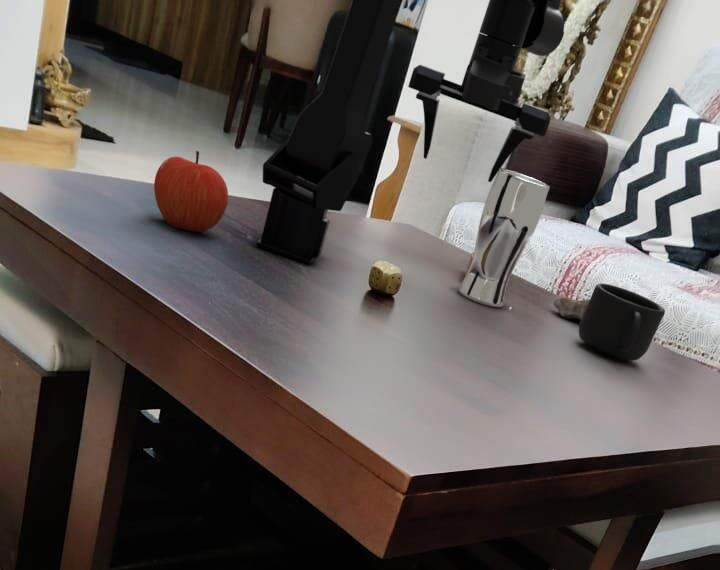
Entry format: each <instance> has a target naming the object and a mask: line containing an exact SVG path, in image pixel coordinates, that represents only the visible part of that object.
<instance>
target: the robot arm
mask: <svg viewBox="0 0 720 570" xmlns="http://www.w3.org/2000/svg"><path fill="white" fill-rule="evenodd" d="M403 1H404V0H352V1H351V4H350V6H349V10H348V13H347V16H346V19H345V21H344V25H343V28H342V31H341V34H340V37H339V40H338V43H337V46H336V49H335V52H334V55H333V58H332V61H331V64H330V66H329V70H328V73H327V76H326V79H325V82H324V85H323V87H322V90H321V92H320V94H319V95H318V96H316V98H314V100H312V101H311V103H310V104H308V105H307V106H306V107H305V108H304V109H303V110H302V111H301V112H300V113H299V115H298V117H297V119H296V121H295V124H294V126H293V128H292V130H291V132H290V135H289V137H288V138H287V139H286V140H285V141H284V142H283V143H282V144H281V145H280V146H279V147H278V148H277V149H276V150H274V153H272V154H271V156H269V157H268V159H266V160H265V161H264V163H263V165H262V183H263V184H266V185H269V186H271V187H273V189H272V193H271V197H270V201H269V205H268V210H267V214H266V217H265V221H264V224H263V225H264V226H263V229H262V234H261V238H259V239H258V240H257V242H256V246H258V247H260V248H263V249H265V250H269V251H271V252H273V253H276V254H279V255H283V256H286V257H288V258H290V259H294V260H296V261H300V262H302V263H305V264H309V265H310V264H312V263H313V262H314V260H316V259H318V258H319V257H320V256H321V254H322V252H323V248H324V244H325V240H326V237H327V234H328V230H329V226H330V223H331V221H330V218H328V217H327V214H328V212H329V211H334V212H335V211H336V212H341V211H342V209H343V207H344V205H345V203H346V202H347V199H348V197H349V196H350V193H352V191H353V188H354V186H355V184H356V182H357V181H358V178H359V175H360V174H363V173H364V172H363V171H364V167H365V162H366V158H367V155H368V154H369V151H370V150H371V147H372V145H373V135H372V133H370V132H367V131H366V124H365V118H364V117H365V116H364V113H365V109H366V106H367V102H368V99H369V97H370V94H371V91H372V88H373V86H374V83H375V80H376V77H377V74H378V71H379V69H380V66H381V62H382V60H383V58H384V54H385V53H386V49H387V46H388V43H389V40H390V38H391V34H392V32H393V29H394V26H395V23H396V21H397V18H398V15H399V12H400V9H401V7H402V4H403ZM561 3H562V0H489V1H488V3H487V7H486V10H485V13H484V16H483V19H482V22H481V26H480V28H479V32H478V35H477V38H476V41H475V45H474V47H473V49H472V50H473V51H472V54H471V56H470V59H469V63H468V65H467V67H466V70H465V73H464V76H463V79H462V83H461V84H459V83H456V82H454V81H451V80H449V79H446V78H445V76H446V73H445V72H442V71H441V70H440V71H439V70H437V69H434V68H431V67H429V66H426V65H424V64H418V65H417V66H415V67H413V69H412V73H411V76H410V80H409V83H408V85H407V87H408V88H410V89H412V90H415V91H417V92H418V93H416V95H415V99H416V100H419V101H422V109H423V116H424V117H423V118H424V132H423V133H424V134H423V159H425V160H426V159H427V158H428V156H429V153H430V150H431V147H432V141H433V135H434V131H435V125H436V120H437V117H438V116H437V114H438V110H439V105H440V99H438V97H439V96H441V95H443V96H445V97H448V98H451V99H453V100H456V101H459V102H462V103H465V104H467V105H470V106H473V107H476V108H478V109H481V110H483V111H486V112H489V113H492V114H495V115H498V116H500V117H503V118H506V119H508V120H510V121H514V126H511V128H510V130H509V132H508V134H507V137H506V138H505V141H504V142H503V145H502V147H501V148H500V150H499V153H498V155H497V157H496V160H495V162H494V164H493V166H492V167H491V171H490V173H489V176H488V179H487V182H489V183H492V182H493V180H494V179H495V178H496V176H497V174H498V171H499V169H500V168H502V167H503V165H504V164H505V163H506V161H507V160H508V158H509V157H510V156H511V155H512V154H513V152H514V151H515V150H516V149H517V148H518V146H520V145H521V143H522V142H523V141H524V140H529V141H533V140H534V137H535V136H534V134H535V135H538V136H540V137H544V138H545V137H546V134H547V131H548V128H549V127H550V123H551V120H552V119H551V115H550V112H549V111H548V110H545V109H543V108H540V107H537V106H534V105H532V104H529V103H526V102H522V105H521V106H519V105H517V102H518V100H519V97H520V94H521V90H522V88H523V84H524V83H525V79H526V74H525V73H522V72H520V71H517V70H515V67H516V65H517V63H518V59H519V57H520V54H521V51H522V50H523V51H525V52H528V53H530V54H532V55H535V56H539V57H544V56H549V55H550V54H552V53H553V52H554V51H556V50H557V49H558V47H559V46H560V44H561V43H562V40H563V38H564V36H565V20H564V17H563V15H562V13H561V11H560V10H559V9H560V6H561Z"/></svg>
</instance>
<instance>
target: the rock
mask: <svg viewBox="0 0 720 570" xmlns="http://www.w3.org/2000/svg"><path fill="white" fill-rule="evenodd" d="M589 301H590V298H589V299H587V298H586V299H580V300H579V299H578V300H576V299H572V298H570V297H567V296H565V297H564V296H563V297H560V298H557V299H555V300H554V301H553V306H554V308H556V309H557V310H558V312H559V314H560V316H561V317H562V318H565V319H572V318H574V319H579V320H580V321H581V319H582V317H583V315H584V312H585V310H586V308H587V305H588V303H589Z"/></svg>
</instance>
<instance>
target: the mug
mask: <svg viewBox="0 0 720 570" xmlns="http://www.w3.org/2000/svg"><path fill="white" fill-rule="evenodd" d="M589 299H590V301H589V303H588V305H587V308H586V310H585V312H584V315H583V317H582V319H581V320H580V322H579V326H578V336H579V338H580V339H581V340H582V341H583V342H584V343H585V346H586V348H588V349H589V350H591V351H592V352H594V353H596V354H597V355H600V356H602V357H605V358H607V359H610V360H612V361H613V360H614V361H616V362H628V361H638V360H639V359H641V358H642V357H643V356H644V355H646V353H647V351H648V350H649V349H650V346H651V344H652V342H653V339H654V338H655V335H656V334H657V331H658V329H659V327H660V324H661V323H662V320H663V319H664V316H665V313H666V310H665V308H664V307H663V306H662V305H660V304H659V303H657V302H655V301H653V300H652V299H650V298H648V297H645V296H643V295H641V294H638V293H636V292H634V291H631V290H628V289H626V288H622V287H619V286H615V285H612V284H608V283H597V284H596V285H595V287H594V289H593V291H592V294H591V296H590V298H589Z"/></svg>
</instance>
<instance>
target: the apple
mask: <svg viewBox="0 0 720 570" xmlns="http://www.w3.org/2000/svg"><path fill="white" fill-rule="evenodd" d="M195 152H196V153H195V161H192V160H188V159H186V158H184V157H181V156H171V157H170V156H169V157H168V158H166V159H165V160H164V161H163V162H162V163H161V164H160V165H159V167H158V169H157V171H156V174H155V177H154V183H153V189H154V198H155V202H156V206H157V208H158V210H159V212H160V214H161V216H162V218H163V219H164V221H166V223H167V224H169V225H170V226H171V227H173V228H177V229H180V230H185V231H190V232H201V233H202V232H206V231H209V230H210V229H212V228H214V227H215V226H216V225H217V224H218V223H219V222H220V220H222V217H223V216H224V214H225V211H226V210H227V206H228V202H229V190H228V186H227V183H226V181H225V180H224V177H223V176H222V175H221V174H220V173H219V171H217V170H216V169H215V168H213V167H211V166H209V165H206V164H202V163H199V159H200V151H199V150H196V151H195Z"/></svg>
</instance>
